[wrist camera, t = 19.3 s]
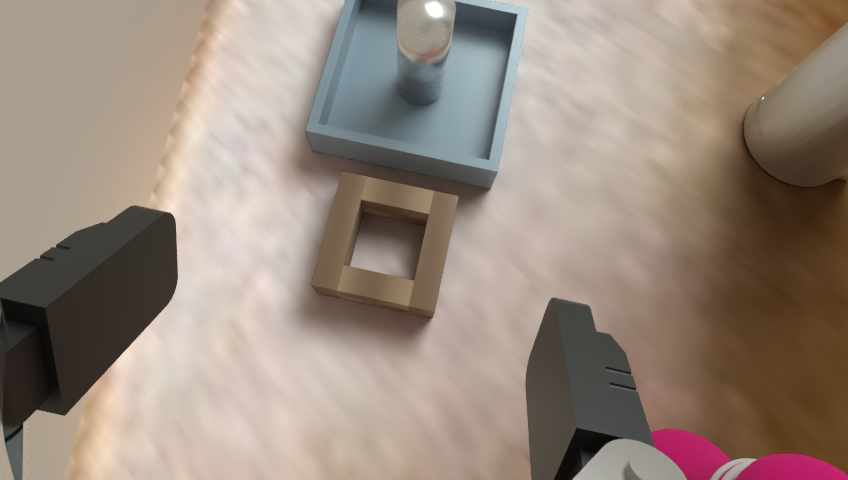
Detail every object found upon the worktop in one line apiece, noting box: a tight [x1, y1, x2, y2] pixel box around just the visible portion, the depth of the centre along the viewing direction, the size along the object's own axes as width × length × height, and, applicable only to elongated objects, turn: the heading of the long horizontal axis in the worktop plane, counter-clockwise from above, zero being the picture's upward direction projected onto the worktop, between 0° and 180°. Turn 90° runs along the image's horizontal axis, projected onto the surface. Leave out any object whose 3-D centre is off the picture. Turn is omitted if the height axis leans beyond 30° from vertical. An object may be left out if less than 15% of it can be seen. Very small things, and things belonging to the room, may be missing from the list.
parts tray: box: [305, 0, 529, 189], centre depth 46 cm, size 15×15×4 cm
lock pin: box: [397, 0, 456, 106], centre depth 42 cm, size 4×4×10 cm
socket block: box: [311, 171, 459, 318], centre depth 42 cm, size 9×9×3 cm
